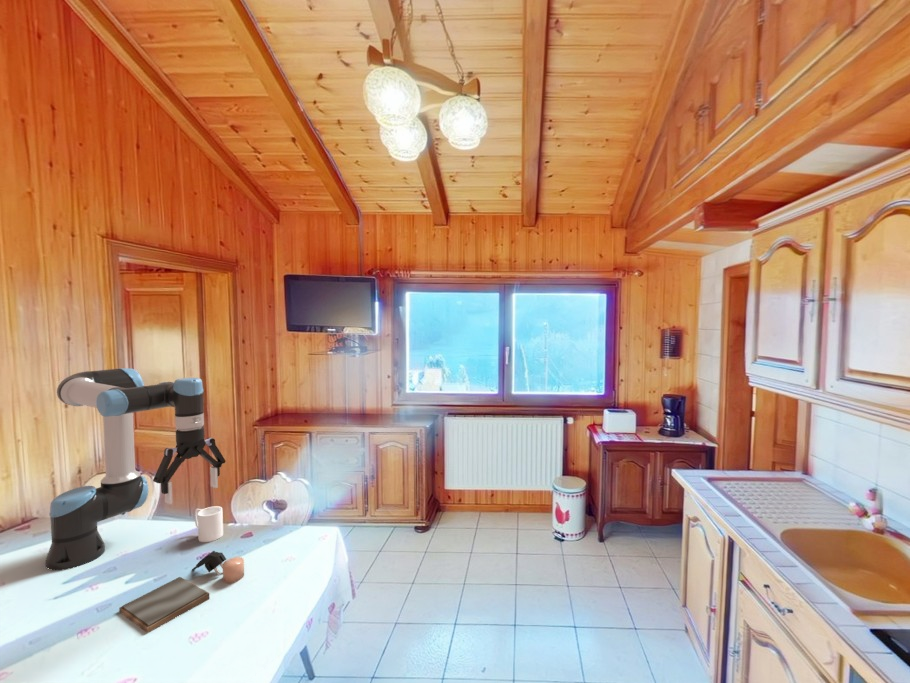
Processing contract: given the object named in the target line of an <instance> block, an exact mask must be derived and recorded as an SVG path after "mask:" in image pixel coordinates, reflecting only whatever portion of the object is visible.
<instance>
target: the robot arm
mask: <svg viewBox="0 0 910 683" xmlns="http://www.w3.org/2000/svg"><path fill="white" fill-rule="evenodd" d="M56 395H57V398H58V399H59V401H61V402H62V403H64V404H66V405H68V406H73V407H83V406H84V407H85V406H86V407H91V408H95V409H97V411H98V413H99V414H100V415H101V416H102V422H103V444H104V462H105V465H104V466H105V475H104V477H103V478H101V480H100V486H99V487H95V486H94V485H84V486H80V487H74V488H71V489H70V490H67V491H65V492H62V493H60V494H59V495H57V496H56V497H55V498H53V499H52V500H51V502H50V505H49V506H50V508H49V517H50V534H51V544H50V547H49V550H48V553H47V555H46V557H45V561H44V562H45V563H44V564H45V568H46V567H47V568H49V569H52V570H51V571H63V570H62V569H64V570H69V569H68V568H70V569H74V568H77V566H78V567H80V566H85V565H86V564H88V563H89V564H90V563H92V562H93V561H95V560H97V559H99V558H100V557H101V556H103V555H104V553H105V552H106V545H105V544H106V543H105V542H104V539H103V537H102V536H101V534H100V533H99V531H98V523H99V522H102V521H105V520H108V519H111V518H113V517H116V516H119V515H122V514H125V513H129V512H132V511H133V510H136V509H139V508H141V507H142V506H144V504H145V503H146V501H147V499H148V496H149V484H148V480H147V478H146V477H145V476H143V475H141V472H140V471H138V470H136V452H135V451H136V450H135V434H134V432H135V430H134V413H138V412H143V411H145V412H146V411H151V410H159V409H164V408H168V407H170V408H174V419H175V421H174V424H175V425H174V426H175V429H176V430H175V442H176V443H175V444H176V445H175V447H171V448H169V447H166V448H165V449H164V450H163V451H164V453H163V457H162V459H161V462H160V464H159V466H158V468H157V470H156V472H155V474H154V477H153V479H152V481H153V482H154V483H157V484H160V489H161V490H160V493H161V494H163V495H164V503H165V504H167V505H172V504H173V485H172V483H173V482H172V481H170V480H171V479H172V478H173V476H174V475H175V473H176V472H177V470H178V469H179V467H180V466H181V465H182V464H183V463H184V462H185V460H186V459H187V460H189V459H192V458H197V457H199V456H201V458H203V459H204V460H205V461H207V462H208V463H209V464H210V465H211V466H210V467H209V473H210V487H211V488H213V489H217V488H219V483H218V482H219V481H218V477H220V474H221V472H220V471H221V470H220V468H222V466H223V464H226V459H225V458H224V456H223V454H222V453H221V451H220V449H219V448H218V447H217V445H216V439H215V438H213V437H207V439H205V427H204V425H205V418H204V417H205V413H204V412H205V411H204V407H205V406H204V387H203V380H202V379H201V378H199V377H183V378H178V379H177V378H176V379H175V380H174V381H173V382H172V381H164V382H159V383H158V384H151V385H145V384H144V380H143V378H142V376H141V374H140V373H139V372H138V371H137V370H136V369H134V368H131V367H129V368H127V367H125V368H121V367H120V368H109V369H100V370H92V371H91V370H90V371H89V370H88V371H87V370H86V371H82V372H77V373H76V372H75V373H74V374H71V375H69V376H67V377H66V378H64V379H63V380H62V381H60V383H59V384H58V385H57V389H56ZM206 446H207V447H208V449H209V450H210V451H211V453H212V454H213V456H214V457H213V456H211V454H209V453H208V452H207V451H206V450H204V448H205V447H206ZM176 453H177V454H176ZM175 454H176V455H175ZM173 457H174V459H173ZM172 459H173V461H172ZM73 567H74V568H73ZM47 568H46V569H47ZM49 569H48V570H49Z"/></svg>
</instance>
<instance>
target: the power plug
mask: <svg viewBox="0 0 910 683" xmlns="http://www.w3.org/2000/svg"><path fill="white" fill-rule="evenodd" d="M225 561H227V558H226V556H225V555H224V553H223V552H218V551H215V550H212V551H211V552H210V553H208V554H207V555H206V556H204V557H203V558H202V559H201V560H199V561H198V562H197V563H196V564H195V566H194V567H193V568H192V569H191V571H195V570H196V569H199V568H200V567H202V566H204V568H205V569H206V570H207V571H208V573H210V572H212V571H214V572H215V573H216V575H217V576H220V575H221V572H220V571H219V569H218V568H217V567H218V566H220V567H221V569H222V570H223V563H224V562H225Z"/></svg>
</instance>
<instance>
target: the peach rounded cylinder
mask: <svg viewBox="0 0 910 683" xmlns="http://www.w3.org/2000/svg"><path fill="white" fill-rule="evenodd" d="M222 563H223V569H222V581H223V582H224V583H225V584H234V583H236V582H239V581H240V580H242V579H243V578H244V576H245V560H244V558H243V557H242V556H235V557H231V558H229V559H226V560H225V561H224V562H222Z"/></svg>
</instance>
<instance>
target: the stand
mask: <svg viewBox="0 0 910 683" xmlns="http://www.w3.org/2000/svg"><path fill="white" fill-rule="evenodd" d="M208 600H210V593H209V592H208V591H206V590H204V589H203V588H201V587H199V586H197V585H196V584H194V583H192V582H190V581H189V580H187V579H185V578H184V577H182V576H179V577H176V578H175V579H173V580H170V581H168V582H166V583H165V584H162V585H160V586H158V587H157V588H155V589H152V590H151V591H149V592H147V593H145V594H143V595H141V596H139V597H137V598H135V599H132V600H131V601H129V602H128V603H127V602H126V603H125V604H123V605H122V606H120V607H119V613H120V614H122V615H123V616H125V617H126V618H127V619H129V620H130V621H131V622H132V623H134V624H135V625H136V626H137V627H138V628H140V629H142V630H143V631H144V632H145V633H147V634H149V633H150V632H152V631H155V630H156V629H158V628H160V627H162V626H163V625H165V624H167V623H170V622H171V621H172V620H174V619H176V618H178V617H180V616H181V615H183V614H185V613H187V612H189V611H190V610H192V609H194V608H196V607H197V606H199V605H201V604H203V603H205V602H206V601H208ZM188 610H189V611H188ZM179 615H180V616H179ZM177 616H178V617H177ZM175 617H176V618H175ZM161 625H162V626H161Z"/></svg>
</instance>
